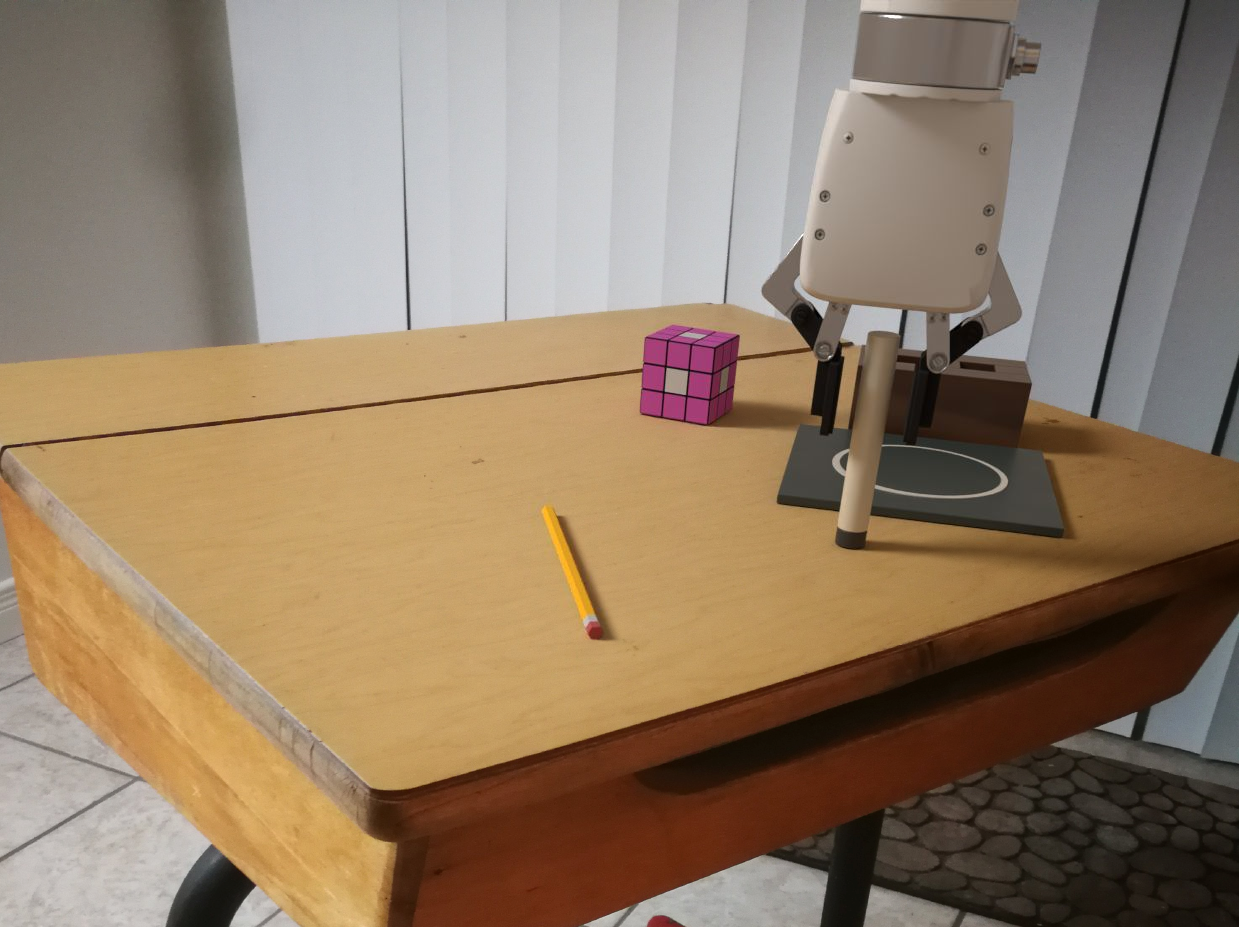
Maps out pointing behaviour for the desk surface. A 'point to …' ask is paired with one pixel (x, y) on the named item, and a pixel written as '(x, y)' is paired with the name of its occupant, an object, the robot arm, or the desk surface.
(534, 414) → the desk surface
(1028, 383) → the holder
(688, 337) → the puzzle toy
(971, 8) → the robot arm
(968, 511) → the board
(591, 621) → the pencil
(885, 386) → the marker
